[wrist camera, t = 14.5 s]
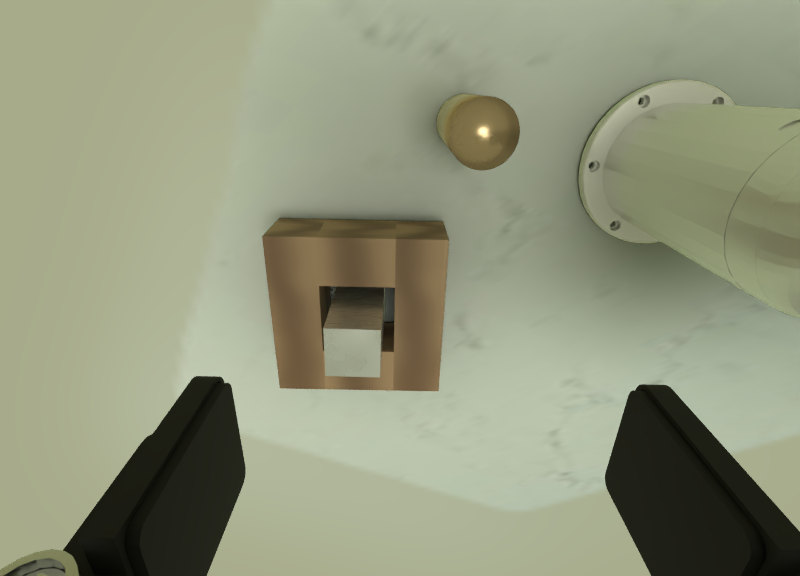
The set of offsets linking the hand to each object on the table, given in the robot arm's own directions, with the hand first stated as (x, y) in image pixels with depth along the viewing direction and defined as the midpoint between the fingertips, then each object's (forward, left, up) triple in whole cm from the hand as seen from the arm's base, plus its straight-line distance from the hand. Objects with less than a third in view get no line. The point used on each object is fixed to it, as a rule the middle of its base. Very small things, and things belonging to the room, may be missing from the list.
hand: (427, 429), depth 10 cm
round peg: (-4, -5, -28) cm, 29 cm away
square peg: (+4, +10, -28) cm, 30 cm away
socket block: (+4, +10, -28) cm, 30 cm away
